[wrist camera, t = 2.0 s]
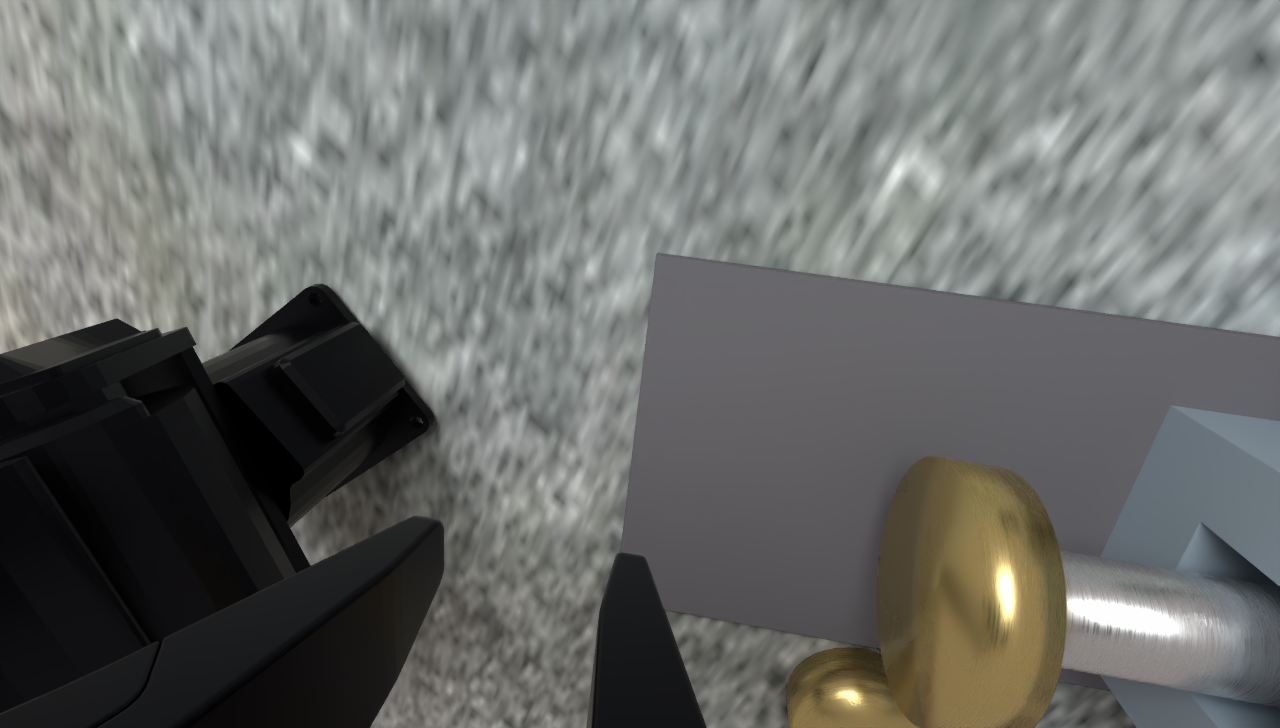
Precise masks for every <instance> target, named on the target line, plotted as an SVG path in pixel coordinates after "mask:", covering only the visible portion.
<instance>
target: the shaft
mask: <svg viewBox="0 0 1280 728" xmlns="http://www.w3.org/2000/svg"><path fill="white" fill-rule="evenodd" d="M877 622H878V633H879V641H880V648H881V654H882V660H883V665H884V669H885V672H886V676H887V680H888V683H889V686H890V689H891V691H892V694H893V696H894V698H895V701H896V703H897V704H898V706H899V708H900V710H901V711H902V713H903V714H904V715H905V717H906V718H907V719H908V720H909V721H910V722H911V723H912V724H914V725H915V726H917V727H919V728H1035V726H1036V725H1037V724H1038V723H1039V721H1040V720H1041V719H1042V717H1043V715H1044V713H1045V712H1046V710H1047V708H1048V706H1049V704H1050V702H1051V699H1052V697H1053V694H1054V692H1055V689H1056V686H1057V682H1058V679H1059V675H1060V671H1061V668H1064V669H1069V670H1075V671H1080V672H1086V673H1091V674H1097V675H1103V676H1108V677H1114V678H1119V679H1125V680H1130V681H1136V682H1141V683H1147V684H1152V685H1158V686H1163V687H1169V688H1174V689H1180V690H1185V691H1191V692H1197V693H1202V694H1208V695H1213V696H1219V697H1224V698H1230V699H1235V700H1241V701H1246V702H1252V703H1257V704H1263V705H1268V706H1274V707H1279V708H1280V587H1277V586H1271V585H1265V584H1259V583H1253V582H1247V581H1241V580H1235V579H1229V578H1223V577H1217V576H1211V575H1205V574H1199V573H1193V572H1187V571H1181V570H1175V569H1169V568H1163V567H1157V566H1151V565H1144V564H1138V563H1132V562H1126V561H1120V560H1114V559H1108V558H1102V557H1096V556H1090V555H1084V554H1078V553H1072V552H1066V551H1060V549H1059V545H1058V541H1057V538H1056V535H1055V532H1054V529H1053V525H1052V523H1051V521H1050V518H1049V516H1048V514H1047V511H1046V509H1045V507H1044V505H1043V504H1042V502H1041V500H1040V498H1039V496H1038V495H1037V494H1036V492H1035V491H1034V490H1033V488H1032V487H1031V485H1030V484H1029V483H1028V482H1027V481H1026V480H1025V479H1024V478H1023V477H1021V476H1020V475H1019V474H1017V473H1016V472H1014V471H1012V470H1010V469H1007V468H1005V467H998V466H992V465H985V464H979V463H973V462H966V461H960V460H954V459H947V458H941V457H934V456H929V457H924V458H922V459H920V460H918V461H917V462H916V463H915V464H913V465H912V466H911V467H910V469H909V470H908V471H907V472H906V474H905V475H904V477H903V478H902V480H901V482H900V484H899V486H898V487H897V489H896V492H895V494H894V497H893V499H892V502H891V505H890V508H889V511H888V514H887V518H886V522H885V526H884V531H883V535H882V541H881V547H880V554H879V563H878V575H877Z"/></svg>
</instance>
